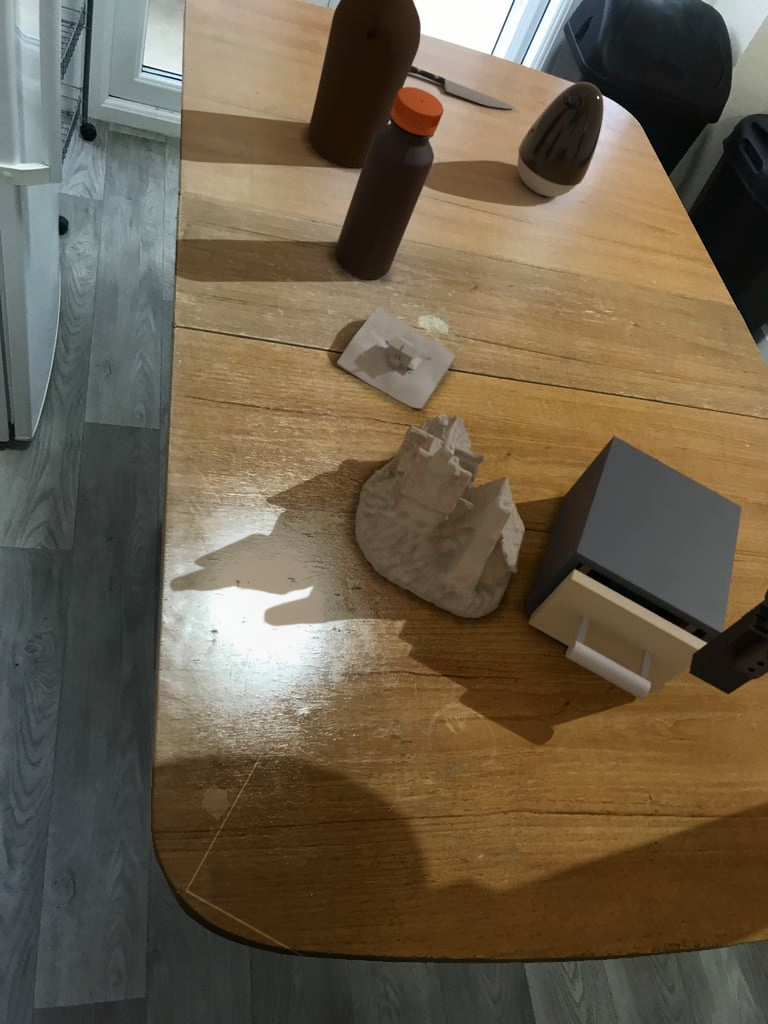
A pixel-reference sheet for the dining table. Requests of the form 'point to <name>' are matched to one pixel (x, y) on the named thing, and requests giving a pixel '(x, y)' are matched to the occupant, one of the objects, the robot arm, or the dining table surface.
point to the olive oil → (362, 75)
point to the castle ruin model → (440, 522)
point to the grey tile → (396, 359)
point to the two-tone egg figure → (562, 141)
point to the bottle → (389, 185)
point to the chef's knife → (462, 90)
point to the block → (624, 591)
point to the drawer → (616, 634)
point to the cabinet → (646, 537)
